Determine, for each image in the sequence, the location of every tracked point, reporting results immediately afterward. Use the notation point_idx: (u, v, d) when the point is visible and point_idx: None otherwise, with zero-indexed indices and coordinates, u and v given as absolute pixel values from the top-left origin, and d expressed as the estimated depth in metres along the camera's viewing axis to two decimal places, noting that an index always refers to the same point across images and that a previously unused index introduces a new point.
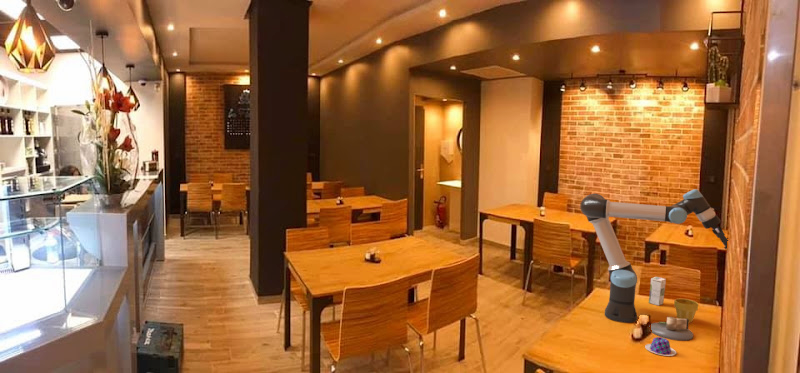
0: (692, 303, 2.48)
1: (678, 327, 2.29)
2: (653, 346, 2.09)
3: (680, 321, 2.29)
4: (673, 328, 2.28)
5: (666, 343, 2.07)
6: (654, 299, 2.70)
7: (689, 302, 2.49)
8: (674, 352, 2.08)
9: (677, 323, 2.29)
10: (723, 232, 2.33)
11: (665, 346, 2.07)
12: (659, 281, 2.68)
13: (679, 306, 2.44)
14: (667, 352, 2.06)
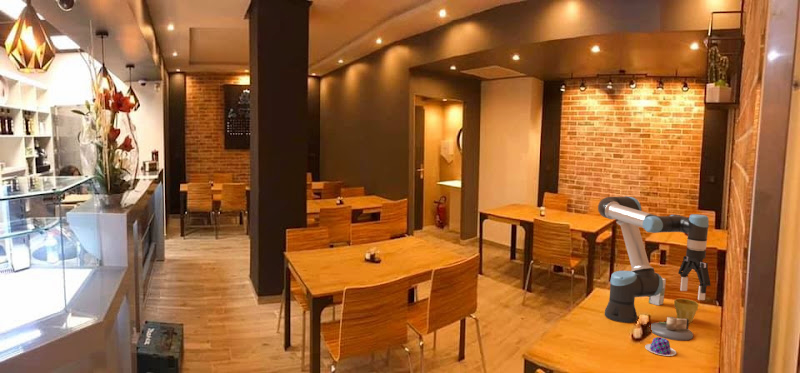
0: (692, 303, 2.48)
1: (678, 327, 2.29)
2: (653, 346, 2.09)
3: (680, 321, 2.29)
4: (673, 328, 2.28)
5: (666, 343, 2.07)
6: (654, 299, 2.70)
7: (689, 302, 2.49)
8: (674, 352, 2.08)
9: (677, 323, 2.29)
10: None
11: (665, 346, 2.07)
12: None
13: (679, 306, 2.44)
14: (667, 352, 2.06)
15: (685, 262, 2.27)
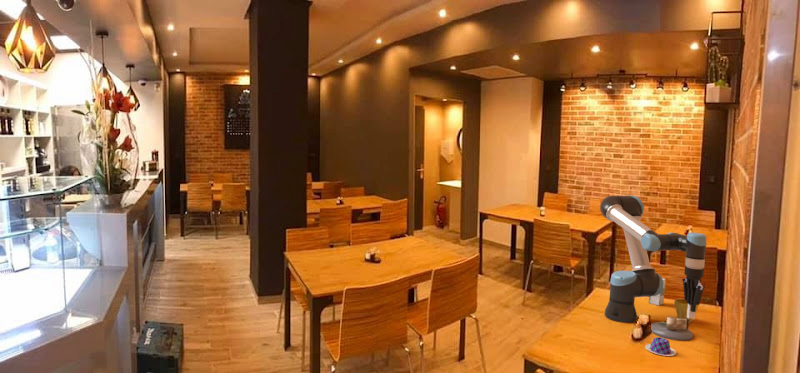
0: None
1: (678, 327, 2.29)
2: (653, 346, 2.09)
3: (680, 321, 2.29)
4: (673, 328, 2.28)
5: (666, 343, 2.07)
6: (654, 299, 2.70)
7: None
8: (674, 352, 2.08)
9: (677, 323, 2.29)
10: None
11: (666, 346, 2.07)
12: None
13: (679, 306, 2.44)
14: (667, 352, 2.06)
15: (686, 284, 2.25)
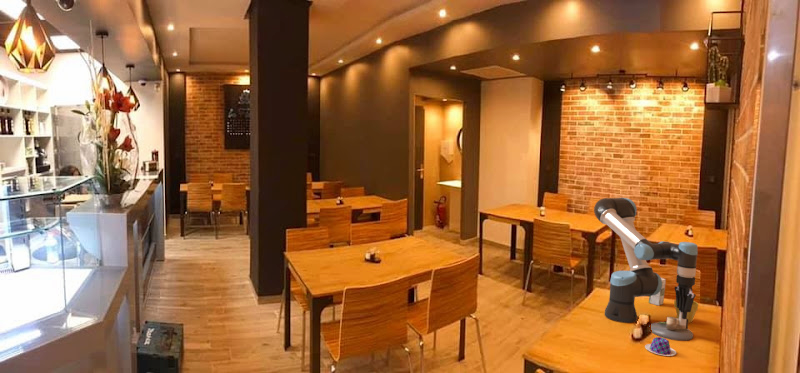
0: None
1: (678, 327, 2.29)
2: (654, 346, 2.09)
3: None
4: (673, 328, 2.28)
5: (666, 343, 2.07)
6: (654, 299, 2.70)
7: None
8: (674, 352, 2.08)
9: (677, 323, 2.29)
10: None
11: (666, 346, 2.07)
12: None
13: None
14: (668, 352, 2.06)
15: (678, 292, 2.31)
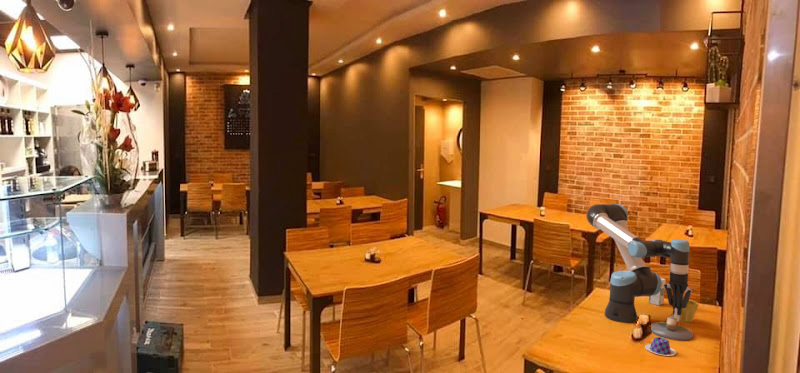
0: (692, 303, 2.48)
1: None
2: (654, 346, 2.09)
3: None
4: (675, 327, 2.29)
5: (667, 343, 2.07)
6: (654, 299, 2.70)
7: (689, 302, 2.49)
8: (674, 351, 2.08)
9: None
10: (683, 292, 2.30)
11: (666, 346, 2.07)
12: None
13: None
14: (668, 352, 2.06)
15: (669, 289, 2.34)
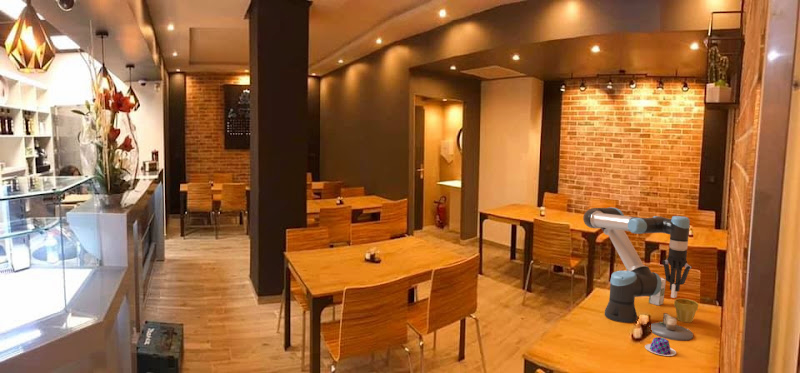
0: (692, 303, 2.48)
1: None
2: (654, 347, 2.08)
3: None
4: None
5: (667, 343, 2.07)
6: (654, 299, 2.70)
7: (689, 302, 2.49)
8: (674, 351, 2.08)
9: None
10: None
11: (666, 346, 2.07)
12: None
13: (679, 306, 2.44)
14: (668, 352, 2.06)
15: (666, 266, 2.35)
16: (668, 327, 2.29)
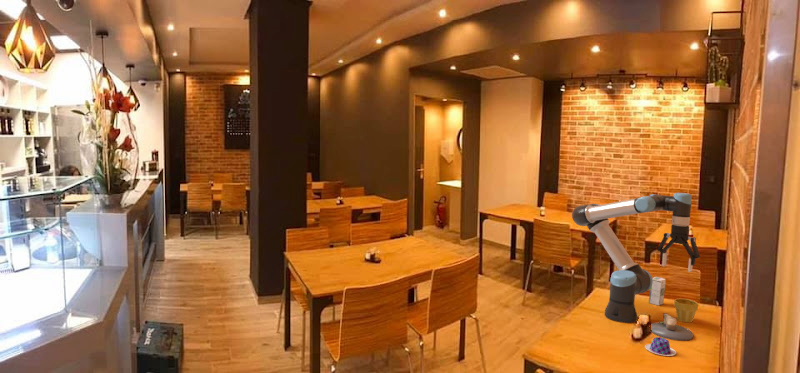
0: (692, 303, 2.48)
1: None
2: (654, 347, 2.08)
3: None
4: None
5: (667, 343, 2.07)
6: (654, 299, 2.70)
7: (689, 302, 2.49)
8: (673, 351, 2.08)
9: None
10: None
11: (666, 346, 2.07)
12: (659, 281, 2.68)
13: (679, 306, 2.44)
14: (668, 352, 2.06)
15: (666, 238, 2.41)
16: (668, 327, 2.29)
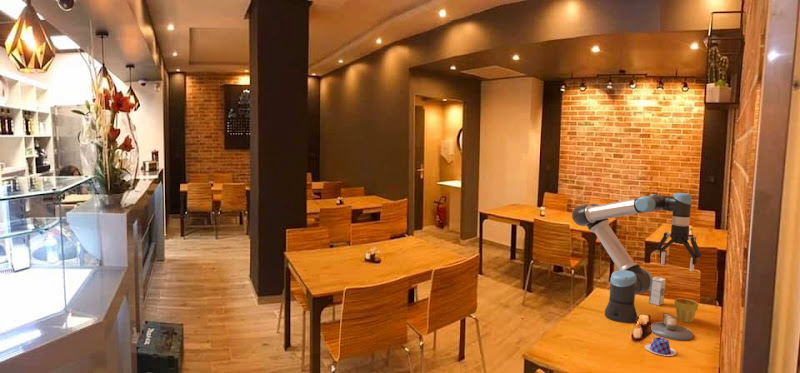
0: (692, 303, 2.48)
1: None
2: (654, 347, 2.08)
3: None
4: None
5: (667, 343, 2.07)
6: (654, 299, 2.70)
7: (689, 302, 2.49)
8: (673, 351, 2.09)
9: None
10: None
11: (666, 346, 2.07)
12: (659, 281, 2.68)
13: (679, 306, 2.44)
14: (668, 352, 2.07)
15: (665, 238, 2.42)
16: (668, 327, 2.29)
